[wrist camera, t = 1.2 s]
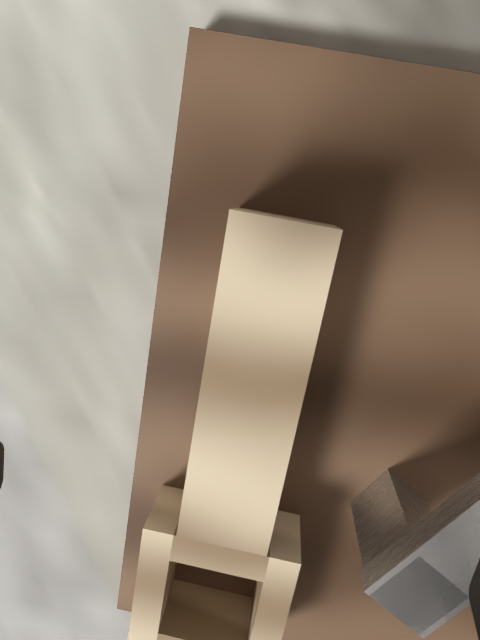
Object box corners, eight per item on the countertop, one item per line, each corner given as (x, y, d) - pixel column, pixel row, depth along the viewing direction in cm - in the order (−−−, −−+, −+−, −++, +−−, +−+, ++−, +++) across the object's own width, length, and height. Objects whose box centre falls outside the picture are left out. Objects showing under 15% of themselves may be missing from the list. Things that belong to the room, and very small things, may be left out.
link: (272, 623, 19) (270, 683, 17) (146, 593, 20) (126, 648, 17) (370, 231, 15) (386, 237, 12) (203, 200, 15) (187, 201, 13)
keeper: (519, 431, 16) (599, 512, 12) (391, 535, 18) (422, 638, 14) (470, 388, 16) (534, 456, 12) (346, 498, 17) (363, 591, 13)
